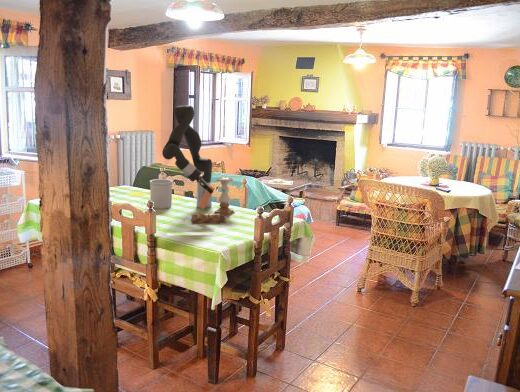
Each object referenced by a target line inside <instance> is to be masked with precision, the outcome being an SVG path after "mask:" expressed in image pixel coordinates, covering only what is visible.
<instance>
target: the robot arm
mask: <svg viewBox="0 0 520 392" xmlns="http://www.w3.org/2000/svg"><path fill="white" fill-rule="evenodd" d="M173 111H174V112H173V113H174V116H175V120H176V121H177V123H178V124H177V125H176V126H175V127H174V128H173V129H172V130H171V131H170V132H171V133H170V134H169V138H168V140H167V142H166V144H165V145H164V147H163V148H162V152H161V153H162V154H161V155H162V157H163V158H164V159H166V160H172V159H173V158H175V163H174V165H175V166H176V167H177V168H178V169H179V170H180V171H181V172H182V174H184V175H185V177H187V178H188V179H189V180H190V181H191V182H192V183H193V182H195V181H196V208H199V209H200V208H201V207H199V204H200V202H201V200H202V198H203V196H204V195H205V193H206V191H208V192H209V193H210V194H211V193H212V192H213V193H214V191H213V190H212V189H211V188H210V187H209V185H210V186H211V185H212V183H211V181H212V175H213V174H212V173H213V172H212V171H213V162H212V159H210V158H206V157H201V155H200V150H201V148H202V142H203V141H202V139H201V136H200V134H199V132H198V131H197V130H195V128H194V127H192V126H191V125H190V124H191V123H192V122H193V120H194V116H195V109H194V107H193V106H192V105H177V106H175V107H174V110H173ZM183 137H184V140H185V143H186V145H187V147H188V150H189V152H190V156H191V159H192V162H191V161H190V160H189V159H187V158H186V156H185V155H184V153H183V151H182V150H181V148H180V145H181V143H182V141H183ZM202 173H203V175H202ZM213 193H212V194H213ZM212 196H213V195H211V197H210V199H209V200H208V202H207V204H206V206H205V208H204V209H207V208H210V207H212ZM201 209H202V208H201Z"/></svg>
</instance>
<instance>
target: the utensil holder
mask: <svg viewBox="0 0 520 392" xmlns="http://www.w3.org/2000/svg"><path fill="white" fill-rule="evenodd" d="M149 187H150V188H149V190H150V192H149V194H150V201H151V200H152V201H153V202H154V208H153V209H160V210H162V209H169V208H171V207H172V204H173V203H172V200H173V199H172V198H173V180H171V179H167V178H155V179H151V180H149Z"/></svg>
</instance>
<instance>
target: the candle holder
mask: <svg viewBox="0 0 520 392" xmlns="http://www.w3.org/2000/svg"><path fill="white" fill-rule="evenodd" d="M216 181H217V182H220V184H221V187H220V190H221V193H220V196H219V198H218V202H219V203H220V204H219V205H218V206H219V208H218V209H216V210H215V211H214V213H213V214H224V217H230V216H233V214H236V212H235V211H234V209H231V208H230V204H229V203H230V201H231V197H230V196H229V194H228V191H229V187H228V185H229V183H230V182H233V181H234V178H233V177H217V178H216Z"/></svg>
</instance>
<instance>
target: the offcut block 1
mask: <svg viewBox="0 0 520 392" xmlns="http://www.w3.org/2000/svg"><path fill="white" fill-rule="evenodd" d="M208 214H209V213H197V218H208Z"/></svg>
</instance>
